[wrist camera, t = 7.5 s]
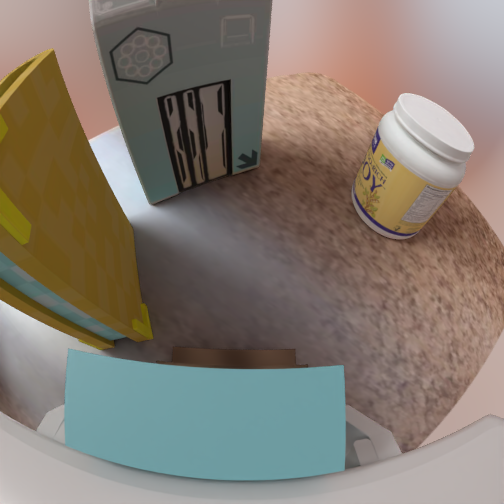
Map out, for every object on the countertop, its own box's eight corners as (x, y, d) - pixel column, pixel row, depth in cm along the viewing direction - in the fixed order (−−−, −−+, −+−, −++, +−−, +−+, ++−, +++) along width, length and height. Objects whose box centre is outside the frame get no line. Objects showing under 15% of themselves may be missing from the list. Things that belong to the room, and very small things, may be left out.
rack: (175, 487, 19) (158, 509, 13) (176, 348, 26) (158, 337, 20) (293, 490, 19) (306, 514, 13) (292, 351, 26) (306, 340, 21)
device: (150, 208, 35) (83, -18, 8) (140, 172, 38) (89, -16, 11) (260, 169, 38) (276, -43, 12) (238, 140, 42) (241, -42, 15)
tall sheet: (192, 407, 19) (65, 445, 4) (193, 380, 21) (68, 348, 5) (264, 409, 20) (344, 470, 4) (264, 382, 21) (343, 364, 5)
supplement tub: (339, 175, 39) (373, 80, 24) (403, 180, 39) (446, 102, 25) (361, 245, 33) (425, 146, 18) (429, 243, 34) (496, 166, 19)
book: (153, 338, 26) (-34, 171, 5) (100, 350, 25) (-94, 231, 3) (135, 214, 34) (66, 39, 12) (92, 227, 33) (4, 74, 11)
